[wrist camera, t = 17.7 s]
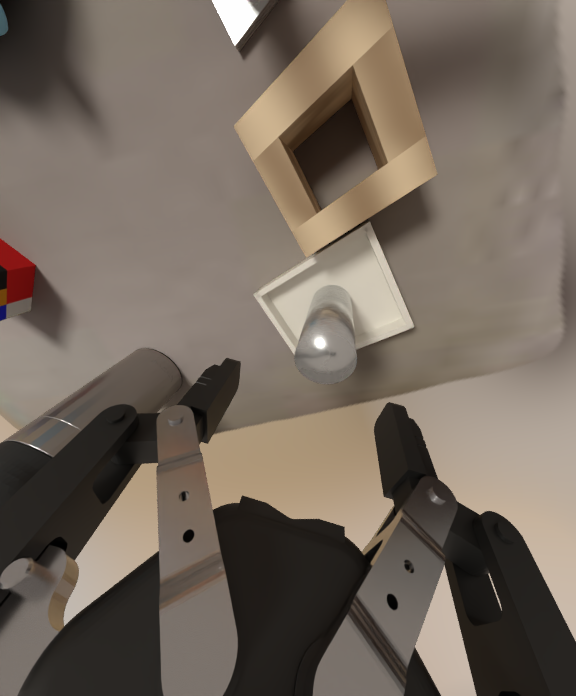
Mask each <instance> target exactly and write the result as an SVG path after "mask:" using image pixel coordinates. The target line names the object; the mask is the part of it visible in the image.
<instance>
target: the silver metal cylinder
mask: <svg viewBox="0 0 576 696" xmlns="http://www.w3.org/2000/svg"><path fill="white" fill-rule="evenodd" d="M294 359H295V364H296V366H297V368H298V370H299V371H300V372H301V374H302V375H303V376H305V377H306V378H308V379H309V380H311V381H313V382H316V383H320V384H334V383H338V382H341V381H343V380H345V379H346V378H348V377H349V376H350V375H351V374H352V373H353V371H354V370H355V367H356V364H357V353H356V343H355V332H354V322H353V311H352V301H351V297H350V295H349V293H348V292H347V291H346V290H345V289H344V288H342V287H340V286H337V285H326V286H324V287H322V288H320V289H319V290H317V291H316V293H315V294H314V296H313V298H312V301H311V304H310V307H309V310H308V313H307V317H306V320H305V323H304V326H303V329H302V332H301V335H300V338H299V341H298V344H297V348H296V351H295V356H294Z"/></svg>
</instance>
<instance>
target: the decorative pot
mask: <svg viewBox="0 0 576 696" xmlns="http://www.w3.org/2000/svg"><path fill="white" fill-rule="evenodd" d="M7 31H8V22H7V18H6V15H5V12H4V10H3V8H2V6H1V4H0V36H2V35H4V34H5V33H7Z"/></svg>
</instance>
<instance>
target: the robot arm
mask: <svg viewBox="0 0 576 696" xmlns="http://www.w3.org/2000/svg"><path fill="white" fill-rule="evenodd" d="M240 366H241V363H240V361H236V360H233V359H229V358H226V359H225V360H224V362H223V363H222V364H221V366H218V365H213V366H211V367H209V368H208V369H206V370H205V371H204V373H203V374H202V375H201V377H200V378H199V379H198V380H197V381H196V383H195V384H194V385H193V386H192V387H191V389H190V390H189V391H188V392H187V394H186V395H185V396H184V397H183V398H182V400H181V401H180V402H179V403H178V404H177V405H174V406H171V407H168V408H166V409H165V410H163V411H162V412H161V413H157V412H158V411H159V410H160V409H161V408H162V407H163V406H164V405H165V404H166V402H167V401H168V400H169V399H170V398H171V397H172V396H173V395H174V394H175V393H176V392H177V390H178V389H179V388H180V386H181V383H182V379H181V375H180V372H179V370H178V369H177V367H176V366H175V365H174V363H173V362H172V361H171V360H170V359H169V358H167V357H166V356H165V355H163V354H161V353H159V352H158V351H155V350H152V349H147V348H143V349H138V350H136V351H135V352H133V353H132V354H130V355H129V356H127V357H126V358H124V359H123V360H121V361H120V362H118V363H117V364H115V365H114V366H112V367H111V368H109V369H108V370H106V371H105V372H103V373H102V374H101V375H99V376H98V377H96V378H95V379H93V380H92V381H90V382H89V383H87V384H86V385H84V386H83V387H82V388H80V389H79V390H77V391H76V392H74V393H73V394H71V395H70V396H68V397H67V398H65V399H64V400H63V401H61V402H60V403H58V404H57V405H55V406H54V407H52V408H51V409H49V410H48V411H46V412H45V413H44V414H42V415H41V416H39V417H38V418H37V419H35V420H34V421H32V422H31V423H29V424H28V425H26V426H25V427H23V428H22V429H20V430H19V431H17V432H16V433H15V434H13V435H12V436H10V437H9V438H8V439H6V440H4V441H3V442H2V443H0V696H441V695H440V693H439V691H438V689H437V687H436V686H435V684H434V682H433V680H432V678H431V676H430V674H429V673H428V671H427V669H426V667H425V665H424V663H423V661H422V660H421V658H420V656H419V654H418V652H417V650H416V648H415V645H416V642H417V639H418V636H419V633H420V631H421V628H422V625H423V623H424V620H425V617H426V614H427V611H428V609H429V606H430V603H431V600H432V598H433V595H434V592H435V589H436V586H437V584H438V581H439V578H440V575H441V573H442V570H443V567H444V564H445V568H446V573H447V576H448V580H449V585H450V589H451V593H452V597H453V601H454V605H455V609H456V613H457V617H458V621H459V625H460V629H461V633H462V637H463V641H464V645H465V650H466V654H467V658H468V662H469V666H470V670H471V674H472V678H473V682H474V686H475V690H476V694H477V696H576V641H575V640H574V638H573V636H572V634H571V632H570V630H569V628H568V626H567V624H566V622H565V620H564V618H563V616H562V614H561V612H560V610H559V608H558V606H557V604H556V602H555V600H554V598H553V596H552V594H551V592H550V590H549V588H548V586H547V584H546V582H545V580H544V578H543V576H542V574H541V572H540V570H539V568H538V566H537V565H536V562H535V561H534V558H533V557H532V554H531V553H530V550H529V548H528V547H527V544H526V543H525V541H524V539H523V537H522V536H521V534H520V533H519V531H518V530H517V529H516V528H515V527H514V526H513V525H512V524H511V523H510V522H509V521H508V520H507V519H505V518H504V517H503V516H501V515H499V514H497V513H495V512H492V511H487V512H484V513H483V514H481V515H479V514H477V513H476V512H474V511H472V510H470V509H469V508H467V507H465V506H464V505H462V504H460V503H459V502H457V501H456V498H455V497H454V495H453V493H452V491H451V490H450V489H449V488H448V487H447V486H446V485H445V484H444V483H443V482H441V481H440V480H438V478H437V475H436V472H435V469H434V467H433V464H432V461H431V458H430V455H429V452H428V450H427V448H426V444H425V441H424V440H423V436H422V433H421V430H420V428H419V427H418V426H417V424H416V423H415V421H414V420H413V419H411V418H409V417H408V414H407V411H406V408H405V407H404V406H401V405H397V404H394V403H390V402H389V403H387V404H386V406H385V408H384V409H383V411H382V412H381V414H380V416H379V417H378V419H377V421H376V423H375V427H374V434H375V441H376V447H377V454H378V461H379V468H380V474H381V481H382V488H383V494H384V497H387V498H390V499H393V501H394V506H393V507H392V509H391V510H390V512H389V513H388V515H387V516H386V518H385V520H384V521H383V523H382V524H381V526H380V527H379V529H378V531H377V532H376V533H375V535H374V537H373V538H372V540H371V541H370V542H369V543H368V545H367V546H366V547H365V548H364V550H363V551H362V552H361V551H360V550H359V548H358V547H357V546H356V545H355V544H354V543H353V542H351V541H350V540H349V539H348V538H346V537H345V533H344V532H345V531H344V527H343V526H340V525H336V524H333V523H330V522H327V521H323V520H320V519H291V518H289V517H287V516H286V515H284V514H283V513H281V512H280V511H278V510H276V509H275V508H273V507H272V506H270V505H269V504H267V503H265V502H262V501H258V500H255V499H252V498H248V497H245V496H242V497H241V500H240V503H231V504H226V505H223V506H220V507H218V508H216V509H214V510H213V509H212V504H211V499H210V493H209V488H208V483H207V478H206V472H205V467H204V462H203V457H202V453H201V452H200V448H199V444H200V443H201V442H204V443H208V442H209V441H210V439H211V437H212V435H213V433H214V431H215V430H216V428H217V426H218V424H219V422H220V421H221V419H222V417H223V415H224V413H225V412H226V410H227V408H228V406H229V404H230V403H231V401H232V399H233V397H234V395H235V394H236V391H237V389H238V385H239V378H240ZM144 463H158V466H157V502H158V503H157V504H158V534H159V551H158V552H157V553H155V554H154V555H153V556H152V557H150V558H149V559H148V560H146V561H145V562H144V563H143V564H141V565H140V566H139V567H137V568H136V569H135V570H133V571H132V572H131V573H130V574H128V575H127V576H126V577H124V578H123V579H122V580H121V581H119V582H118V583H117V584H115V585H114V586H113V587H112V588H110V589H109V590H108V591H107V592H105V593H104V594H102V595H101V596H100V597H99V598H97V599H96V600H95V601H93V602H92V603H91V604H90V605H88V606H87V607H86V608H84V609H83V610H82V611H81V612H79V613H78V614H77V615H76V616H75V617H74V618H72V620H70V621H69V622H68V623H67V624H66V625H65V626H64V621H63V617H64V611H65V607H66V604H67V602H68V599H69V597H70V595H71V594H72V592H73V590H74V588H75V585H76V583H77V580H78V575H79V568H78V565H77V563H76V562H75V559H76V558H77V556H78V555H79V553H80V552H81V550H82V549H83V547H84V546H85V545H86V543H87V542H88V540H89V539H90V537H91V536H92V535H93V533H94V532H95V530H96V529H97V527H98V526H99V524H100V523H101V522H102V520H103V519H104V517H105V516H106V514H107V513H108V511H109V510H110V509H111V507H112V506H113V504H114V503H115V501H116V500H117V499H118V497H119V496H120V494H121V493H122V491H123V490H124V488H125V487H126V485H127V484H128V483H129V481H130V480H131V478H132V477H133V475H134V474H135V473H136V471H137V470H138V468H139V467H140V465H141V464H144ZM488 573H490V576H491V578H492V581H493V584H494V587H495V589H496V592H497V595H498V598H499V600H500V603H501V607H502V611H501V608H500V606H499V603H498V600H497V597H496V594H495V592H494V589H493V586H492V584H491V581H490V578H489V575H488Z"/></svg>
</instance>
